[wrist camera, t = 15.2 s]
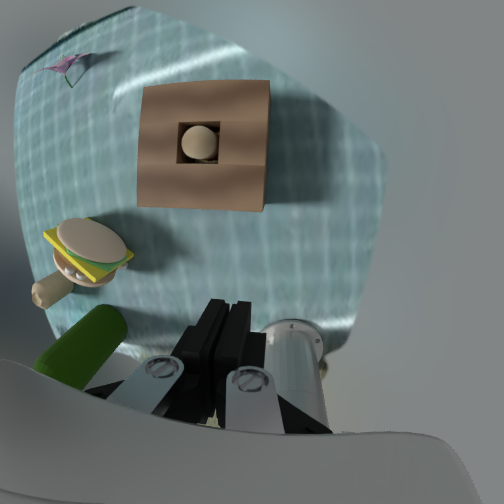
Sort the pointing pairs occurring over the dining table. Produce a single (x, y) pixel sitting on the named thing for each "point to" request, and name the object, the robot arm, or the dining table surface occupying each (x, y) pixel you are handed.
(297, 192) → the dining table surface
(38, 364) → the wine bottle
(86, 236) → the hamburger
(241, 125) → the socket block
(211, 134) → the maple peg
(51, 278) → the candle
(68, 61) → the lily
